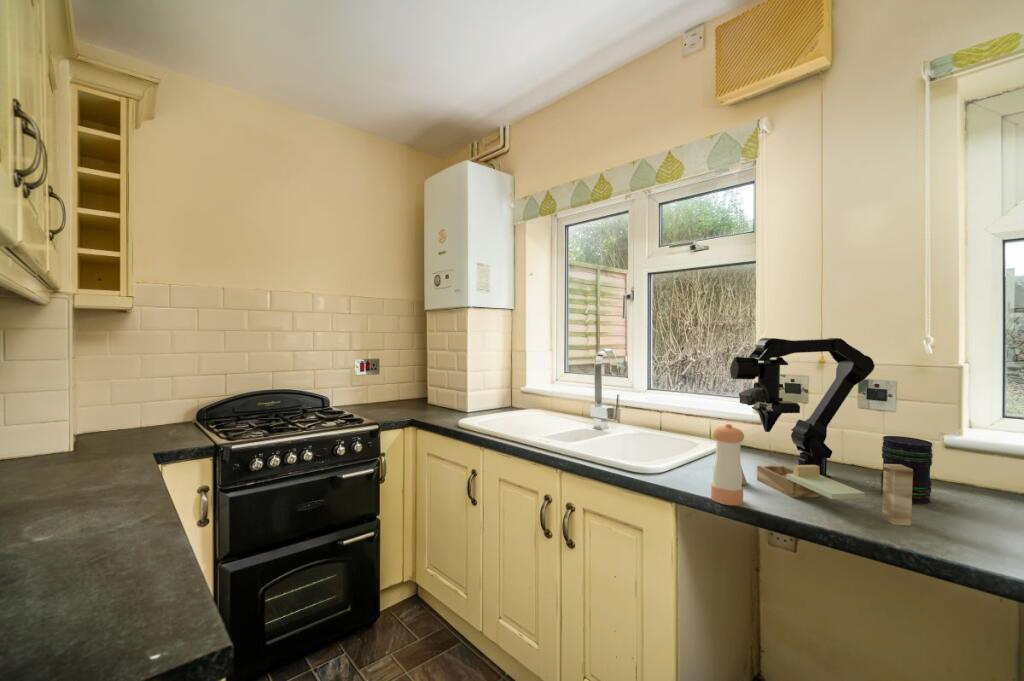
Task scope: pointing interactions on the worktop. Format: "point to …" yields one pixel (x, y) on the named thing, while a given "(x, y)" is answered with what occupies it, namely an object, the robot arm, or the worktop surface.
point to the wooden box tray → (783, 481)
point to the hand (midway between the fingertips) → (767, 431)
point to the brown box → (897, 494)
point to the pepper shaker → (727, 466)
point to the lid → (822, 483)
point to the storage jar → (910, 463)
